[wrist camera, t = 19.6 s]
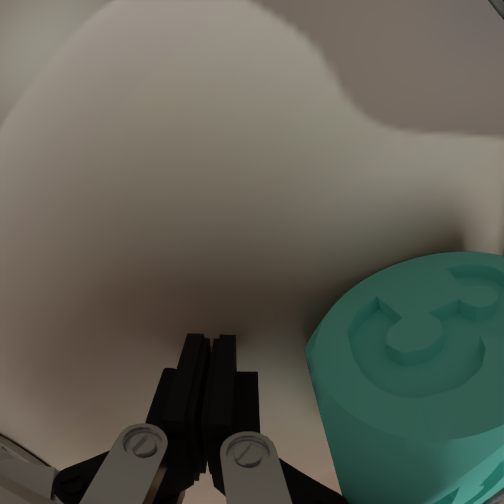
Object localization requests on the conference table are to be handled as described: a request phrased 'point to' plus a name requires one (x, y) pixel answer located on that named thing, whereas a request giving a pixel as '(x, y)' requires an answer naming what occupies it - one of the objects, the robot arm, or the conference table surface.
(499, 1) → the brown and grey piece
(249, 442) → the robot arm
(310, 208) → the conference table surface
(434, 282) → the decorative dice
